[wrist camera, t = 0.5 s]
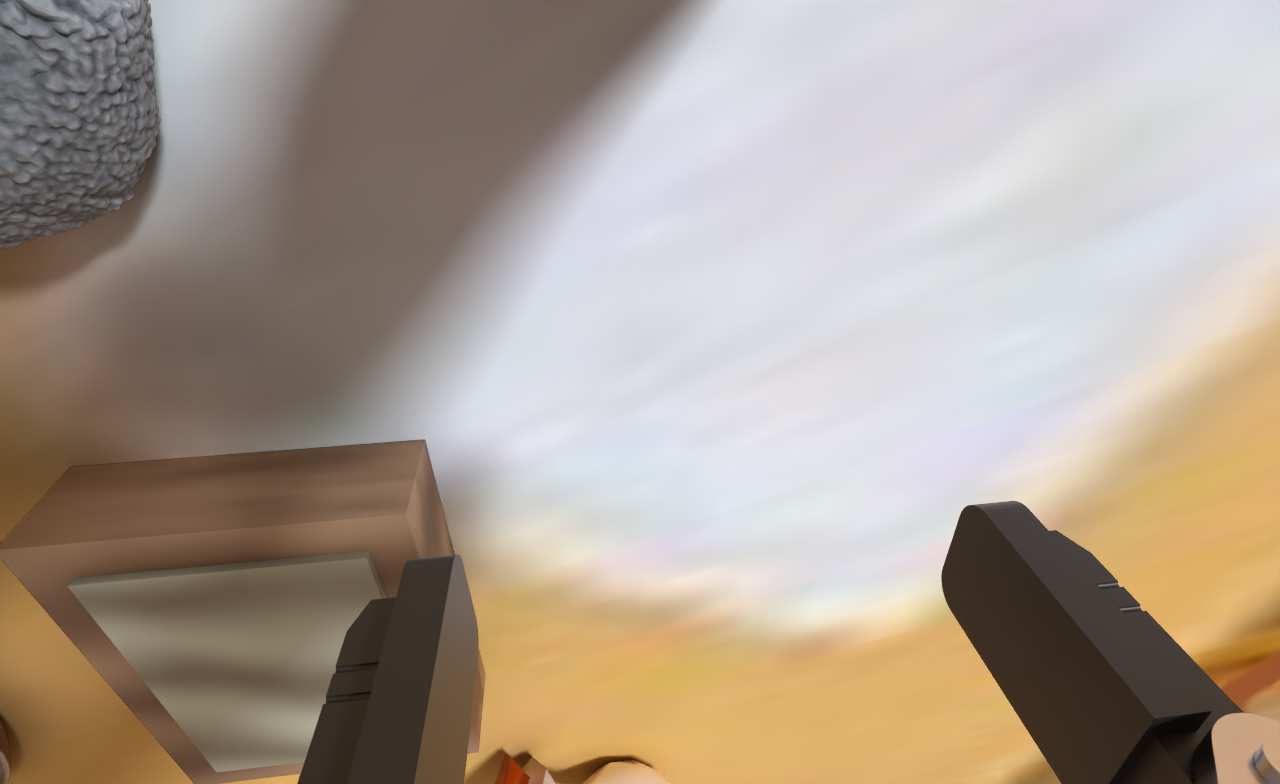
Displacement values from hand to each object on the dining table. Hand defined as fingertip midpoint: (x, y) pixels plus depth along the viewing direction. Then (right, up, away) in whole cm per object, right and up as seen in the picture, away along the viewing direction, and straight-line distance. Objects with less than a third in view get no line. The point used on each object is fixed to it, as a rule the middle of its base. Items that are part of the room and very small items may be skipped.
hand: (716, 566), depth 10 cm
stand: (-19, -8, +26) cm, 33 cm away
